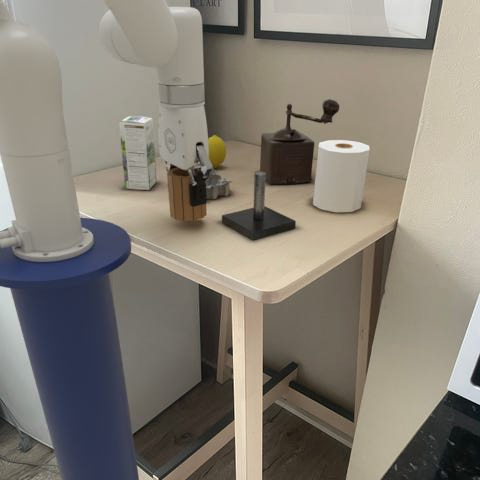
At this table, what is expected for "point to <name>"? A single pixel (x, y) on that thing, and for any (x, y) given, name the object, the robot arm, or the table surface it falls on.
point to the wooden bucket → (182, 196)
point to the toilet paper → (340, 175)
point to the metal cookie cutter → (216, 186)
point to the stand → (258, 215)
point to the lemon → (216, 150)
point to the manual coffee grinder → (291, 149)
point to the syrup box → (138, 152)
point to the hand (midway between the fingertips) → (187, 198)
